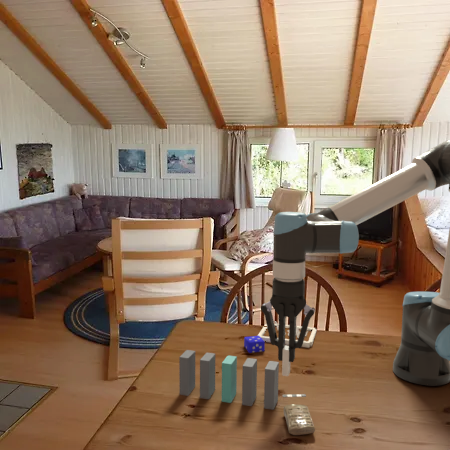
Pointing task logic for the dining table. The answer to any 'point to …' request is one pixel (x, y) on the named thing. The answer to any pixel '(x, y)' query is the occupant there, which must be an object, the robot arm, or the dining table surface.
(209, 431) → the dining table surface
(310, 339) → the white flat rectangular frame
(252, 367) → the domino
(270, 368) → the domino
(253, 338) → the die
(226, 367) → the domino
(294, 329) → the robot arm
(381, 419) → the dining table surface
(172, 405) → the dining table surface
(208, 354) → the domino
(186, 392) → the domino
